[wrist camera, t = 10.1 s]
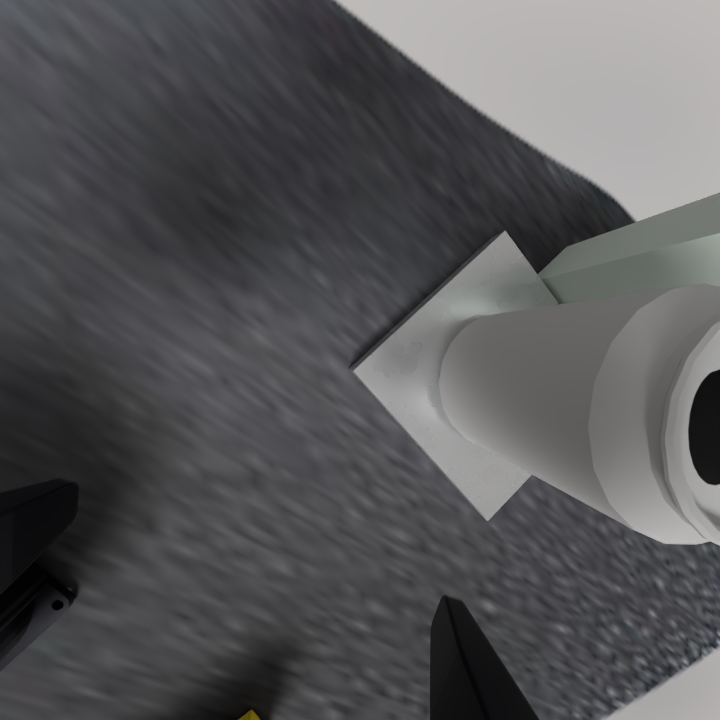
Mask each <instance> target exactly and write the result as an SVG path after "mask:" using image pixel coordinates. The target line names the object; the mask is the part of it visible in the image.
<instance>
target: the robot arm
mask: <svg viewBox="0 0 720 720" xmlns="http://www.w3.org/2000/svg"><path fill="white" fill-rule="evenodd" d="M78 499H79V486H78V484H77V483H76V482H73V481H69V480H66V479H55V480H51V481H47V482H43V483H39V484H34V485H30V486H26V487H22V488H18V489H14V490H10V491H6V492H2V493H0V671H1V670H2V669H3V668H4V667H6V666H7V665H8V664H9V663H10V662H11V661H12V660H13V659H14V658H15V657H16V656H18V655H19V654H20V653H21V652H22V651H23V650H24V649H25V648H26V647H27V646H28V645H30V644H31V643H32V642H33V641H34V640H35V639H36V638H37V637H38V636H39V635H41V634H42V633H43V632H44V631H45V630H46V629H47V628H48V627H49V626H50V625H51V624H53V623H54V622H55V621H56V620H57V619H58V618H59V617H60V616H61V615H62V614H64V613H65V612H66V611H67V609H68V608H69V607H70V606H71V605H72V603H73V601H74V595H73V593H72V592H71V591H70V590H68V589H67V588H66V587H64V586H63V585H62V584H61V583H59V582H58V581H57V580H56V579H54V578H53V577H52V576H51V575H49V574H48V573H47V572H46V571H44V570H43V569H42V568H41V567H39V566H38V565H37V564H36V563H34V561H35V560H36V559H37V558H38V557H39V556H40V555H41V554H42V553H43V552H44V551H45V550H46V549H47V547H48V546H49V545H50V544H51V543H52V542H53V541H54V540H55V539H56V538H57V537H58V536H59V535H60V534H61V533H62V532H63V531H64V530H65V529H66V528H67V527H68V526H69V525H70V524H71V523H72V521H73V520H74V518H75V517H76V514H77V511H78ZM57 600H60V601H62V602H63V604H59V603H58V602H57ZM430 720H539V718H538V717H537V715H536V714H535V712H534V711H533V709H532V707H531V706H530V704H529V703H528V701H527V700H526V698H525V697H524V695H523V694H522V692H521V690H520V689H519V687H518V686H517V684H516V683H515V681H514V680H513V678H512V677H511V675H510V673H509V672H508V670H507V669H506V667H505V666H504V664H503V663H502V661H501V660H500V658H499V656H498V655H497V653H496V652H495V650H494V649H493V647H492V646H491V644H490V643H489V641H488V639H487V638H486V636H485V635H484V633H483V632H482V630H481V629H480V627H479V625H478V624H477V622H476V621H475V619H474V618H473V616H472V615H471V613H470V612H469V610H468V608H467V607H466V605H465V604H464V602H463V601H462V600H461V599H459V598H456V597H452V596H449V595H443V596H442V598H441V600H440V603H439V605H438V608H437V610H436V613H435V616H434V618H433V621H432V625H431V641H430Z"/></svg>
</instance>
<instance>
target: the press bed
mask: <svg viewBox="0 0 720 720" xmlns="http://www.w3.org/2000/svg"><path fill="white" fill-rule="evenodd" d="M552 305H559V303H558V302H557V300H556V299H555V298H554V296H553V295H552V294H551V292H550V291H549V289H548V288H547V287H546V285H545V284H544V283H543V281H542V280H541V279H540V277H539V276H538V274H537V273H536V272H535V270H534V269H533V268H532V266H531V265H530V264H529V262H528V261H527V259H526V258H525V257H524V255H523V254H522V253H521V251H520V250H519V249H518V247H517V246H516V244H515V243H514V242H513V240H512V239H511V238H510V236H509V235H508V233H507V232H506V231H503V232H501V233H499V234H498V235H496V236H494V237H492V238H490V239H489V240H488V241H487V242H486V243H485V244H484V245H483V246H482V247H480V248H479V249H478V250H477V251H476V252H475V253H474V254H473V255H472V256H471V257H470V258H468V259H467V260H466V261H465V262H464V263H463V264H462V265H461V266H460V267H459V268H458V269H457V270H455V271H454V272H453V273H452V274H451V275H450V276H449V277H448V278H447V279H446V280H445V281H443V282H442V283H441V284H440V285H439V286H438V287H437V288H436V289H435V290H434V291H433V292H432V293H430V294H429V295H428V296H427V297H426V298H425V299H424V300H423V301H422V302H421V303H420V304H419V305H417V306H416V307H415V308H414V309H413V310H412V311H411V312H410V313H409V314H408V315H407V316H405V317H404V318H403V319H402V320H401V321H400V322H399V323H398V324H397V325H396V326H395V327H394V328H392V329H391V330H390V331H389V332H388V333H387V334H386V335H385V336H384V337H383V338H382V339H380V340H379V341H378V342H377V343H376V344H375V345H374V346H373V347H372V348H371V349H370V350H369V351H367V352H366V353H365V354H364V355H363V356H362V357H361V358H360V359H359V360H358V361H357V362H356V363H354V364H353V365H352V366H351V367H350V368H349V370H350V371H351V373H352V374H353V375H354V376H355V377H356V378H357V379H358V380H359V381H360V383H361V384H362V385H363V386H364V387H365V388H366V389H367V390H368V391H369V393H370V394H371V395H372V396H373V397H374V398H375V399H376V400H377V401H378V403H379V404H380V405H381V406H382V407H383V408H384V409H385V410H386V411H387V413H388V414H389V415H390V416H391V417H392V418H393V419H394V420H395V421H396V423H397V424H398V425H399V426H400V427H401V428H402V429H403V430H404V431H405V433H406V434H407V435H408V436H409V437H410V438H411V439H412V440H413V442H414V443H415V444H416V445H417V446H418V447H419V448H420V449H421V450H422V452H423V453H424V454H425V455H426V456H427V457H428V458H429V459H430V460H431V462H432V463H433V464H434V465H435V466H436V467H437V468H438V469H439V470H440V472H441V473H442V474H443V475H444V476H445V477H446V478H447V479H448V480H449V482H450V483H451V484H452V485H453V486H454V487H455V488H456V489H457V490H458V492H459V493H460V494H461V495H462V496H463V497H464V498H465V499H466V500H467V502H468V503H469V504H470V505H471V506H472V507H473V508H474V509H475V510H476V511H477V512H478V513H479V514H480V515H481V516H482V517H484V518H485V519H486V520H487V521H488V520H489V519H490V518H491V517H492V516H493V515H494V514H495V513H496V512H497V511H498V510H499V509H500V508H501V507H502V506H503V504H504V503H505V502H506V501H507V500H508V499H509V498H510V497H511V496H512V495H513V494H514V493H515V492H516V491H517V490H518V489H519V488H520V487H521V485H522V484H523V483H524V482H525V481H526V480H527V479H528V478H529V477H530V476H531V475H532V474H530V473H528V472H527V471H525V470H523V469H521V468H519V467H517V466H515V465H514V464H512V463H510V462H508V461H506V460H504V459H503V458H501V457H499V456H497V455H495V454H493V453H492V452H490V451H488V450H486V449H484V448H482V447H481V446H479V445H477V444H475V443H473V442H471V441H470V440H468V439H466V438H465V437H464V436H463V435H462V434H461V433H460V432H459V431H458V430H457V429H456V428H455V427H454V426H453V425H452V424H451V422H450V420H449V418H448V416H447V414H446V412H445V410H444V408H443V406H442V401H441V395H440V389H439V380H440V372H441V364H442V361H443V359H444V357H445V354H446V352H447V350H448V348H449V346H450V343H451V342H452V341H453V340H454V339H455V337H456V336H457V335H458V334H459V333H460V332H461V331H462V330H463V328H464V327H465V326H467V325H469V324H471V323H472V322H474V321H476V320H477V319H479V318H481V317H483V316H488V315H493V314H498V313H504V312H511V311H517V310H524V309H531V308H538V307H545V306H552Z"/></svg>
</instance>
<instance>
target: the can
mask: <svg viewBox="0 0 720 720" xmlns="http://www.w3.org/2000/svg"><path fill="white" fill-rule="evenodd" d="M439 389H440V395H441V401H442V406H443V408H444V410H445V412H446V414H447V416H448V418H449V420H450V422H451V424H452V425H453V426H454V427H455V428H456V429H457V430H458V431H459V432H460V433H461V434H462V435H463V436H464V437H465V438H466V439H468V440H470V441H471V442H473V443H475V444H477V445H479V446H481V447H482V448H484V449H486V450H488V451H490V452H492V453H493V454H495V455H497V456H499V457H501V458H503V459H504V460H506V461H508V462H510V463H512V464H514V465H515V466H517V467H519V468H521V469H523V470H525V471H527V472H528V473H530V474H532V475H534V476H536V477H538V478H539V479H541V480H543V481H545V482H547V483H549V484H550V485H552V486H554V487H556V488H558V489H560V490H561V491H563V492H565V493H567V494H569V495H571V496H572V497H574V498H576V499H578V500H580V501H582V502H584V503H585V504H587V505H589V506H591V507H593V508H595V509H596V510H598V511H600V512H602V513H604V514H606V515H607V516H609V517H611V518H613V519H615V520H617V521H618V522H620V523H622V524H624V525H626V526H628V527H629V528H631V529H633V530H635V531H637V532H640V533H642V534H644V535H646V536H649V537H651V538H653V539H655V540H658V541H660V542H662V543H664V544H701V543H705V542H709V541H711V542H713V543H715V544H717V545H719V546H720V287H719V286H714V285H710V284H705V283H702V284H695V285H689V286H682V287H675V288H668V289H661V290H654V291H648V292H641V293H634V294H627V295H620V296H613V297H606V298H600V299H593V300H586V301H579V302H572V303H565V304H559V305H552V306H545V307H538V308H531V309H524V310H517V311H511V312H504V313H498V314H493V315H488V316H483V317H481V318H479V319H477V320H476V321H474V322H472V323H471V324H469V325H467V326H465V327H464V328H463V330H462V331H461V332H460V333H459V334H458V335H457V336H456V337H455V339H454V340H453V341H452V342H451V343H450V346H449V348H448V350H447V352H446V354H445V357H444V359H443V361H442V364H441V372H440V380H439Z"/></svg>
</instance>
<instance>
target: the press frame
mask: <svg viewBox="0 0 720 720" xmlns="http://www.w3.org/2000/svg"><path fill="white" fill-rule="evenodd" d="M538 276H539V277H540V279H541V280H542V281H543V283H544V284H545V285H546V287H547V288H548V289H549V291H550V292H551V294H552V295H553V296H554V298H555V299H556V300H557V302H558V303H559V304H565V303H572V302H579V301H586V300H593V299H600V298H606V297H613V296H620V295H627V294H634V293H641V292H648V291H654V290H661V289H668V288H675V287H682V286H689V285H695V284H702V283H705V284H710V285H714V286H719V287H720V193H718V194H715V195H712V196H709V197H707V198H704V199H701V200H698V201H695V202H692V203H689V204H686V205H684V206H681V207H678V208H675V209H672V210H669V211H667V212H664V213H661V214H658V215H655V216H653V217H650V218H647V219H644V220H641V221H638V222H635V223H633V224H630V225H627V226H624V227H621V228H618V229H616V230H613V231H610V232H607V233H604V234H601V235H599V236H596V237H593V238H590V239H587V240H584V241H582V242H579V243H576V244H573V245H570V246H567V247H566V248H565V249H564V250H563V251H562V252H561V253H559V254H558V255H557V256H556V257H555V258H554V259H553V260H552V261H551V262H550V263H549V264H548V265H547V266H546V267H545V268H544V269H543V270H542V271H541V272H540V273H539V274H538Z"/></svg>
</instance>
